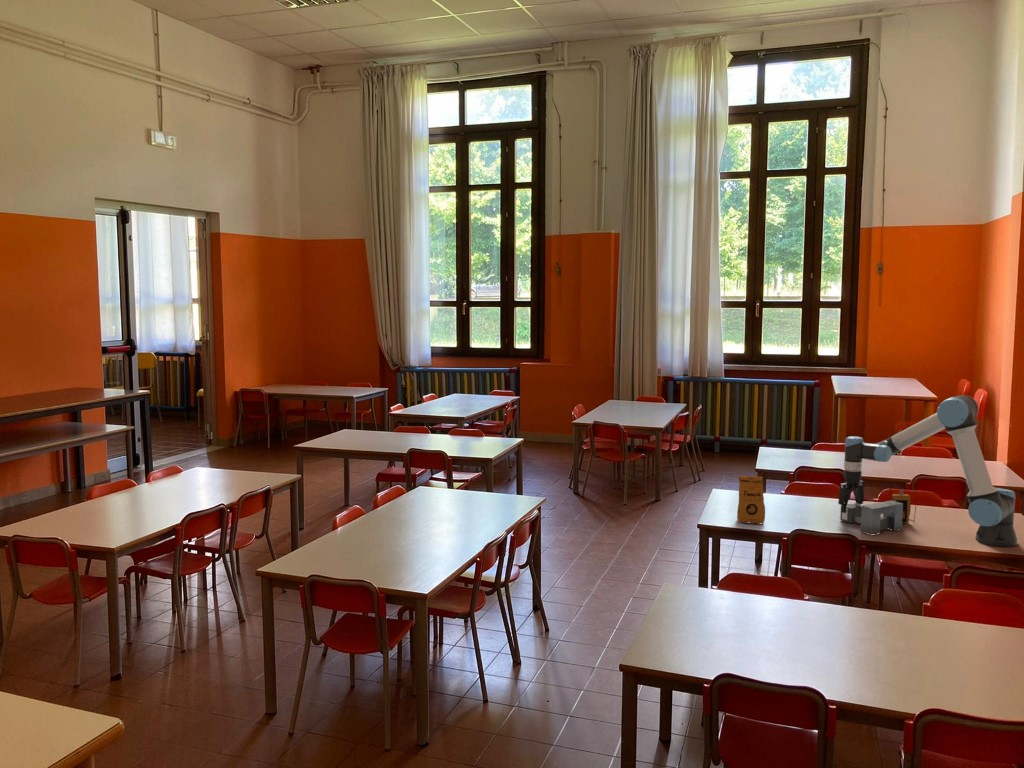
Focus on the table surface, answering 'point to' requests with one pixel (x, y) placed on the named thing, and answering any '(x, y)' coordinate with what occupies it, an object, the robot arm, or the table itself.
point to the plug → (859, 516)
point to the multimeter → (905, 500)
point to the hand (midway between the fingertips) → (850, 518)
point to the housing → (873, 516)
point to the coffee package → (751, 500)
